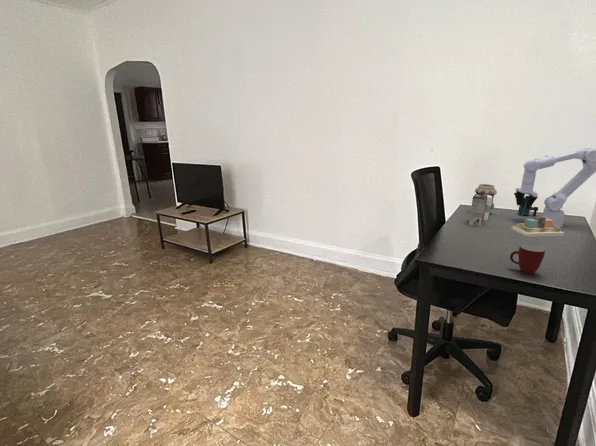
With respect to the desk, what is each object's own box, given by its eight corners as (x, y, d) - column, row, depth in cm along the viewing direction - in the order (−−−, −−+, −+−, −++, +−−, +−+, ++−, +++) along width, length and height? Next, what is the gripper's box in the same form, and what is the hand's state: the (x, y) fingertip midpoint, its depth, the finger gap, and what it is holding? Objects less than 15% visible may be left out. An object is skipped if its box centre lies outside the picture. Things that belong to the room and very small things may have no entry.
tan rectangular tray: (546, 226, 181) (549, 214, 179) (559, 231, 173) (562, 219, 171) (515, 227, 180) (517, 215, 178) (527, 232, 172) (530, 220, 170)
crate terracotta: (545, 225, 178) (547, 218, 177) (551, 228, 174) (553, 220, 173) (538, 225, 178) (540, 218, 177) (544, 228, 174) (546, 220, 173)
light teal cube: (531, 226, 178) (532, 218, 177) (536, 228, 174) (538, 220, 173) (523, 226, 178) (525, 218, 176) (529, 228, 174) (530, 221, 173)
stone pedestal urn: (497, 216, 208) (502, 186, 203) (477, 216, 208) (481, 187, 203) (486, 211, 220) (490, 183, 214) (467, 211, 220) (471, 183, 214)
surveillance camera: (542, 198, 200) (522, 197, 204) (538, 218, 203) (518, 216, 207) (540, 196, 204) (521, 195, 209) (536, 216, 208) (517, 214, 212)
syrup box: (484, 218, 203) (488, 194, 199) (488, 221, 198) (492, 196, 194) (474, 218, 204) (478, 194, 200) (478, 220, 198) (482, 196, 194)
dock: (545, 229, 183) (546, 225, 183) (563, 236, 172) (564, 232, 171) (511, 229, 182) (512, 226, 181) (527, 237, 171) (528, 233, 170)
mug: (507, 272, 132) (511, 247, 129) (508, 264, 138) (512, 241, 136) (540, 278, 127) (545, 253, 124) (539, 270, 133) (544, 246, 130)
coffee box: (471, 221, 198) (475, 193, 193) (483, 222, 195) (488, 195, 190) (468, 224, 191) (472, 196, 186) (481, 226, 187) (485, 198, 183)
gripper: (512, 180, 194) (508, 203, 198) (530, 185, 181) (525, 210, 184) (524, 180, 195) (519, 203, 199) (543, 185, 181) (538, 209, 185)
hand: (523, 206), depth 192 cm, fingers open, 7 cm apart
